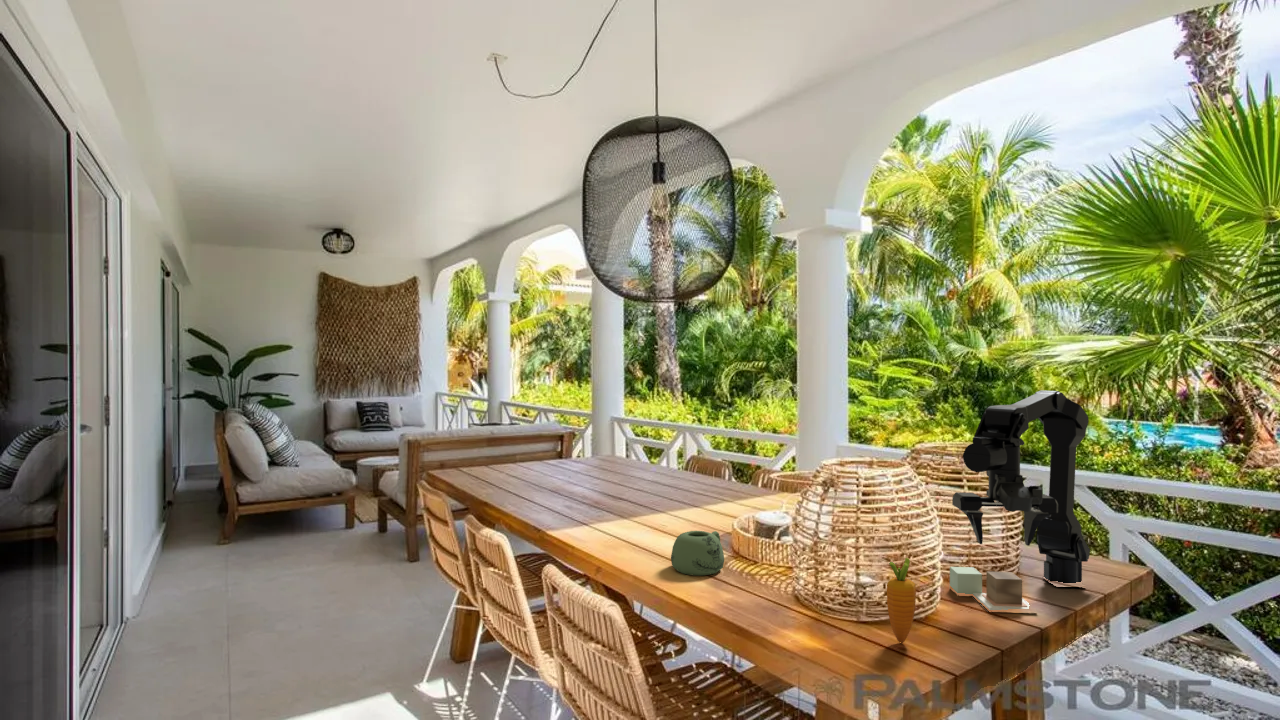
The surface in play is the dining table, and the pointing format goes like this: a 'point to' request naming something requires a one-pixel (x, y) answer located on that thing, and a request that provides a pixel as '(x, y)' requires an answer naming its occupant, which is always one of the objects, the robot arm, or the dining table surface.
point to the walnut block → (1004, 588)
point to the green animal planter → (697, 553)
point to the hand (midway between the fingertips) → (1003, 544)
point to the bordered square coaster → (993, 606)
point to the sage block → (965, 580)
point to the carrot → (901, 601)
